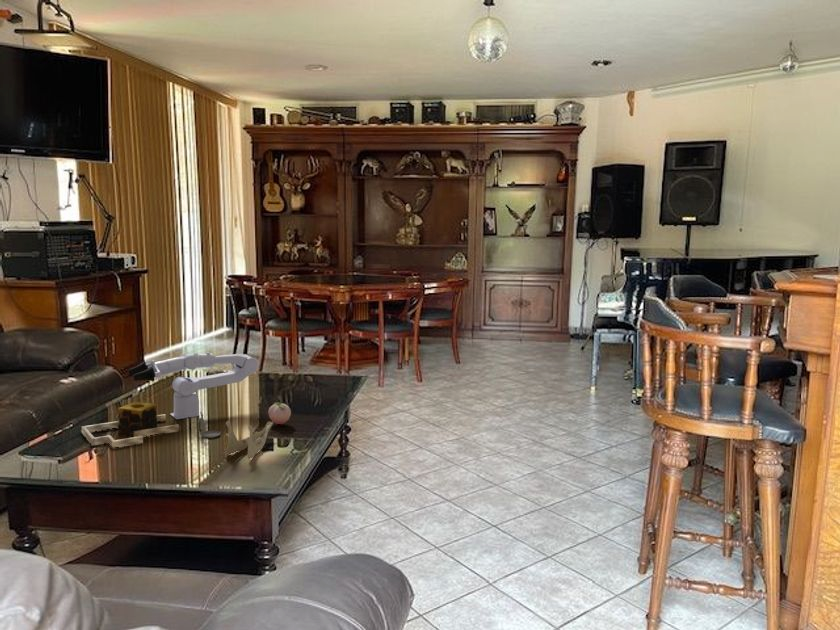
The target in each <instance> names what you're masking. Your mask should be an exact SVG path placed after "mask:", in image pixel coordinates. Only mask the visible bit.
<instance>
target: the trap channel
mask: <svg viewBox="0 0 840 630" xmlns="http://www.w3.org/2000/svg"><path fill="white" fill-rule="evenodd" d="M166 417H167V415H166V414H165V413H164V414H157V423H159V422H158V421H161V422H165V421H167V420H166ZM118 423H119V420H115V421H110V422H103V423H96V424H90V425H83V426H82V425H81V434H82V435H83V436H84V438H85V437H86V438H85V439H86V440H87V441H88V443H89V444H90V443H91V444H90V445H91V446H99V445H104V443H106V444H108V443H109V444H110V445H111V446H112V447H113V448H112V447H111V446H110V445H109V444H108V445H109V446H110V447H111V448H112V449H115V448H114V447H119V448H124V446H125V447H129V446H135V444H136V445H142V444H144V438H146V436H147V437H151V436H150V435H153V434H159V433H165V434H170V433H177V432H179V430H180V426H179V424H178V423H177V424H172V425H165V426H157V428H151V429H145V430H139V431H134V435H133V437H127V438H126V437H125V438H120V439H114V438H113V436H111V434H109V435H103V436H97V437H95V436H94V435H93V434H92V433H95V431H97V432H102V430H103V431H108V430H107V429H110V430H113V429H112V428H116V429H118ZM159 435H160V434H159ZM153 436H154V435H153ZM141 443H142V444H141Z"/></svg>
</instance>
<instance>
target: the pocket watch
mask: <svg viewBox="0 0 840 630" xmlns="http://www.w3.org/2000/svg"><path fill="white" fill-rule="evenodd" d="M199 414H200V417H199V418H198V420H197V429H198V430H197V431H198V432H199V435H200V436H201V437H203V438H206V439H207V438H208V439H213V438H214V439H215V438H218V437H219V436H220V435H221V431H220V430H219V431H218V430H206V429H207V427H206V426H207V425H206V422H205V421H206V420H205V419H204V414H203V412H202V411H199Z"/></svg>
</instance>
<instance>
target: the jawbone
mask: <svg viewBox="0 0 840 630" xmlns="http://www.w3.org/2000/svg"><path fill="white" fill-rule="evenodd" d="M273 424H274V422H273V421H266V424H265V426H264V427H263V428H262V430H260V431H255V432H254V431H253V426H252V425H251V424H249V425H248V426H247V429H248V430H249V432H250V433H249V434H250V435H249V436H247V437H245V438H243V439H242V438H241V439H238V438H237V436H236V435H235V431H234V429H233V427H232V424H231V422H230V420H227V421H226V422H225V425H226V426H227V428H228V433H225V435H226V436H227V441H228V442H227V446H226V449H225V452H224V454H225V457H226V456H227V455H229V454H231V453H234V452H236V451H240V450H243V449H244V448H246V447H248V448H247V459H250V458H252V457H253V456H254V457H255V456H256V455H257V454H256V453H257V452H258V451H259V450H261V449H262V450H263V448H264V447H263V446H265V443H266V440H267V438H268V433H269V432H270V430H271V428H272V426H273ZM262 450H261V451H262ZM243 451H244V450H243ZM255 454H256V455H255Z"/></svg>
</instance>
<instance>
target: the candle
mask: <svg viewBox="0 0 840 630" xmlns="http://www.w3.org/2000/svg"><path fill="white" fill-rule="evenodd" d="M117 410H118V421H119V423H118V428H117V429H118V430H117V433H118V434H120V433H121V435H127V436H134V431H139V430H145V429H151V428H158V422H157V415H158V412H157V410H158V404H157V403H152V402H141V401H133V402H130V403H128V404H126V405H123V406H121V407H118V409H117Z"/></svg>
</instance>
